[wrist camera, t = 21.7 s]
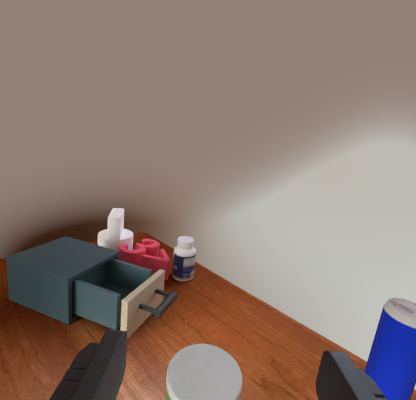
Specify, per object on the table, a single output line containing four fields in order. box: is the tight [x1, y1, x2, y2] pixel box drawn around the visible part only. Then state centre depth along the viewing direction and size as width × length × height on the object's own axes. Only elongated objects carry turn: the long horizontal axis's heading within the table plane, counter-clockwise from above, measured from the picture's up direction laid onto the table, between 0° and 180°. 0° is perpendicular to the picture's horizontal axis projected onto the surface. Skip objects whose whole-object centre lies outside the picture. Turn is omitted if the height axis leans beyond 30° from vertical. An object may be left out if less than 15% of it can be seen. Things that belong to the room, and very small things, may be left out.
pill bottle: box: [172, 236, 196, 281], centre depth 61 cm, size 5×5×10 cm
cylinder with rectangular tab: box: [98, 208, 133, 251], centre depth 68 cm, size 9×9×12 cm
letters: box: [119, 239, 170, 280], centre depth 63 cm, size 14×10×5 cm
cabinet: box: [6, 237, 119, 325], centre depth 50 cm, size 15×13×9 cm
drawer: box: [72, 258, 177, 339], centre depth 45 cm, size 18×11×7 cm, turn 70°
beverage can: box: [365, 298, 416, 400], centre depth 33 cm, size 5×5×15 cm
